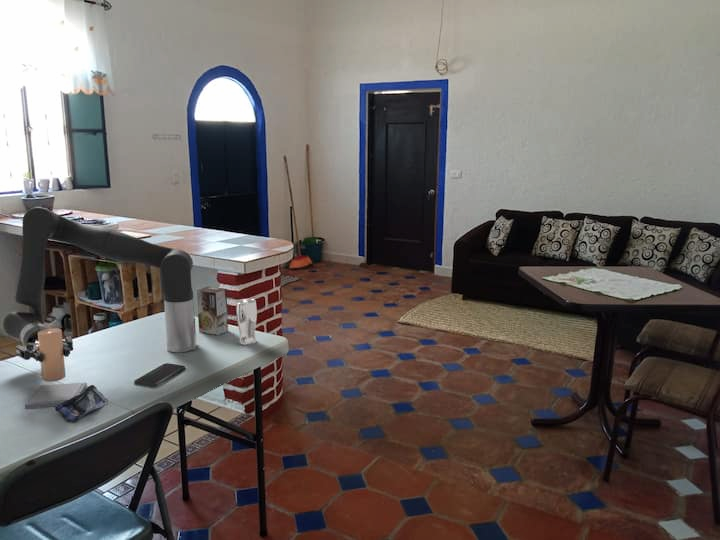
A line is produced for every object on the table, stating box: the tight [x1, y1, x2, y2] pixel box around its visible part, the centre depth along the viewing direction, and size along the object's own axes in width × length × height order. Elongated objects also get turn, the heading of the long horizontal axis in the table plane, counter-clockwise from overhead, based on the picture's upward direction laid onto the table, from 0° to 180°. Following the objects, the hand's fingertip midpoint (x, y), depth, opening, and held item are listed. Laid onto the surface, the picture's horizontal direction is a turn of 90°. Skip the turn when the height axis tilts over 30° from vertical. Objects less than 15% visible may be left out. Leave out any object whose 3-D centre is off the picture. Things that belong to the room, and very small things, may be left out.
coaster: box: [24, 382, 88, 409], centre depth 149 cm, size 12×12×1 cm
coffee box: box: [196, 286, 229, 336], centre depth 202 cm, size 9×6×16 cm
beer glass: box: [235, 298, 258, 346], centre depth 192 cm, size 7×7×15 cm
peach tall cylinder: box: [38, 327, 66, 383], centre depth 147 cm, size 6×6×13 cm
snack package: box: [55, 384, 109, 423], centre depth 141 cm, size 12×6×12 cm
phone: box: [133, 362, 187, 389], centre depth 164 cm, size 8×1×15 cm
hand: (54, 355), depth 145 cm, fingers closed on peach tall cylinder, 5 cm apart
